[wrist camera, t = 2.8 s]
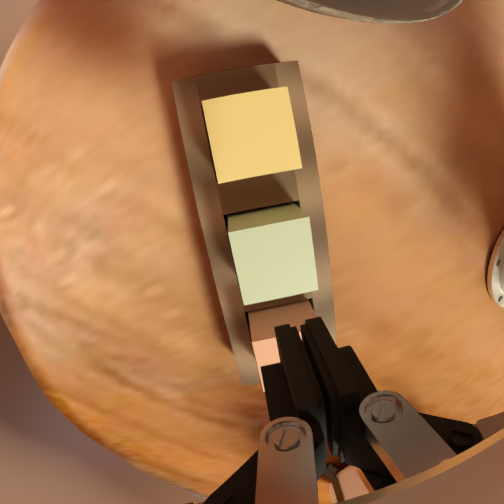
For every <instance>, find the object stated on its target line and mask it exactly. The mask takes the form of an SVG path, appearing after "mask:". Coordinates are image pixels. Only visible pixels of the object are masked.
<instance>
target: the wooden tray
mask: <svg viewBox="0 0 504 504" xmlns="http://www.w3.org/2000/svg"><path fill="white" fill-rule="evenodd" d="M279 87H288V92H289V97H290V102H291V107H292V112H293V118H294V123H295V128H296V134H297V139H298V145H299V151H300V157H301V163H302V168H301V169H295V170H289V171H283V172H278V173H272V174H267V175H261V176H256V177H250V178H245V179H240V180H235V181H230V182H225V183H220V184H218V180H217V175H216V170H215V165H214V161H213V156H212V151H211V146H210V141H209V136H208V131H207V126H206V121H205V116H204V111H203V106H202V101H204V100H209V99H214V98H219V97H224V96H229V95H234V94H240V93H246V92H252V91H258V90H265V89H272V88H279ZM172 88H173V94H174V99H175V104H176V109H177V115H178V120H179V125H180V130H181V135H182V140H183V145H184V149H185V154H186V159H187V164H188V168H189V173H190V178H191V182H192V187H193V191H194V196H195V200H196V205H197V209H198V214H199V218H200V222H201V227H202V231H203V235H204V239H205V244H206V248H207V252H208V256H209V260H210V264H211V268H212V272H213V276H214V280H215V284H216V288H217V292H218V296H219V300H220V304H221V308H222V312H223V315H224V319H225V323H226V327H227V331H228V334H229V338H230V342H231V345H232V349H233V353H234V356H235V360H236V363H237V367H238V371H239V374H240V378H241V381H242V385H243V386H245V385H251V384H257V383H261V379H260V375H259V371H258V366H257V362H256V358H255V354H254V349H253V345H252V339H251V331H250V323H249V319H248V314H247V311H252V310H257V309H262V308H267V307H272V306H277V305H282V304H287V303H291V302H296V301H301V300H305V299H308V300H309V302H310V304H311V306H312V308H313V310H314V313H315V315H316V317H319V316H320V317H321V318H322V320H323V322H324V323H325V325H326V327H327V329H328V331H329V333H330V334H331V336H332V338H333V340H334V342H335V344H336V329H335V315H334V302H333V290H332V279H331V269H330V259H329V250H328V241H327V233H326V224H325V216H324V209H323V201H322V194H321V187H320V180H319V174H318V167H317V161H316V154H315V148H314V142H313V137H312V131H311V125H310V120H309V114H308V109H307V104H306V99H305V94H304V89H303V84H302V79H301V74H300V69H299V65H298V61H289V62H280V63H272V64H264V65H257V66H250V67H244V68H238V69H232V70H227V71H221V72H216V73H211V74H206V75H201V76H197V77H192V78H188V79H184V80H180V81H175V82H172ZM287 202H291V203H295V204H296V205H297V206H298V207H299V208H300V209H301V210H302V211H303V212H305V213H306V214H307V215H308V216H309V219H310V226H311V233H312V241H313V248H314V256H315V264H316V273H317V281H318V290H316V291H312V292H307V293H302V294H298V295H293V296H288V297H284V298H279V299H274V300H269V301H264V302H259V303H254V304H249V305H244V303H243V299H242V294H241V290H240V285H239V281H238V276H237V272H236V267H235V263H234V258H233V254H232V249H231V244H230V240H229V235H228V223H227V218H226V214H230V213H235V212H240V211H245V210H250V209H255V208H260V207H266V206H271V205H276V204H281V203H287Z"/></svg>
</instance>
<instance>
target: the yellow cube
mask: <svg viewBox="0 0 504 504" xmlns="http://www.w3.org/2000/svg"><path fill="white" fill-rule="evenodd" d="M202 106H203V111H204V116H205V121H206V126H207V131H208V136H209V141H210V146H211V151H212V156H213V161H214V165H215V170H216V175H217V180H218V184H220V183H225V182H230V181H235V180H240V179H245V178H250V177H256V176H261V175H267V174H272V173H278V172H283V171H289V170H295V169H301V168H302V163H301V157H300V151H299V145H298V139H297V134H296V128H295V123H294V118H293V112H292V107H291V102H290V97H289V92H288V87H279V88H272V89H265V90H258V91H252V92H246V93H240V94H234V95H229V96H224V97H219V98H214V99H209V100H204V101H202Z"/></svg>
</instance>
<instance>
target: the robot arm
mask: <svg viewBox="0 0 504 504" xmlns="http://www.w3.org/2000/svg"><path fill="white" fill-rule="evenodd" d="M487 285H488V292H489V295H490V297H491V299H492V300H493V302H495V303H496V304H497V305H498V306H500V307H502V308H504V230H503V231H502V233H501V234H500V236H499V238H498V239H497V242H496V244H495V246H494V249H493V252H492V255H491V258H490V262H489V266H488V275H487ZM300 329H301V337H302V340H301V337H300V335H299V332H298V330H297V327H296V326H294V327H290V324H284V325H280V326H275V327H274V330H275V336H276V341H277V347H278V352H279V358H280V363H275V364H270V365H265V366H260V367H261V373H262V379H263V384H264V390H265V395H266V401H267V406H268V412H269V417H270V423H268V424H267V425H266V426H265V427H264V428H263V429H262V431H261V433H260V437H259V449H258V450H257V451H256V452H255V453H254V454H253V455H252V456H251V457H250V458H249V459H248V460H247V461H246V462H245V463H244V464H243V465H242V466H241V467H240V468H239V469H238V470H237V471H236V472H235V473H234V474H233V475H232V476H231V477H230V478H229V479H228V480H227V481H225V482H224V483H223V484H222V485H221V486H220V487H219V488H218V489H217V490H216V491H214V492H213V493H212V494H211V495H210V496H209V497H208V498H207V499H206V501H205V502H202V503H198V504H319V501H318V488H317V481H318V479H319V478H320V477H321V475H322V474H323V473H324V471H325V470H326V458H328V448H327V443H328V446H329V449H330V452H331V454H332V456H336V455H338V457H339V460H340V463H342V462H346V464H349V465H351V466H354V467H355V469H356V472H357V474H358V475H359V477H360V479H361V480H362V482H363V483H364V485H365V487H366V488H367V490H368V491H369V493H367V494H364V495H361V496H358V497H355V498H352V499H348V500H345V501H342V502H338V503H334V504H504V412H502V413H499V414H496V415H493V416H490V417H487V418H484V419H481V420H477V422H476V424H474V425H472V424H470V423H467V422H462V421H457V420H452V419H447V418H442V417H437V416H432V415H428V414H423V413H419V412H417V411H416V410H415V409H414V408H413V407H412V406H411V404H410V403H409V402H408V401H407V400H406V399H405V398H404V397H403V396H401V395H400V394H398V393H395V392H392V391H377V390H376V388H375V386H374V384H373V383H372V381H371V379H370V378H369V376H368V374H367V372H366V371H365V369H364V367H363V366H362V364H361V362H360V361H359V359H358V357H357V356H356V354H355V352H354V351H353V349H352V347H351V346H345V347H341V348H338V347H337V345H336V344H335V342H334V340H333V338H332V336H331V334H330V333H329V331H328V329H327V327H326V325H325V323H324V322H323V320H322V318H321V317H320V316H319V317H315V318H311V319H306V320H305V324H303V325H300ZM186 504H194V503H193V502H190V503H186Z"/></svg>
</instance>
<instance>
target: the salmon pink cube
mask: <svg viewBox="0 0 504 504" xmlns="http://www.w3.org/2000/svg"><path fill="white" fill-rule="evenodd" d="M248 315H249V323H250V331H251V339H252V345H253V349H254V354H255V358H256V362H257V366H258V371H259V375H260V379H261V383H262V387H263V392H265V390H264V384H263V379H262V373H261V367H260V366H265V365H270V364H275V363H280V358H279V352H278V347H277V341H276V336H275V330H274V327H275V326H280V325H284V324H290V327H294V326H296V327H297V330H298V332H299V335H300V337H301V329H300V325H303V324H305V320H306V319H311V318H315V317H316V315H315V313H314V310H313V308H312V306H311V304H310V302H309V300H308V299H305V300H301V301H296V302H291V303H287V304H282V305H277V306H272V307H267V308H262V309H257V310H252V311H248ZM301 340H302V337H301Z"/></svg>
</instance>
